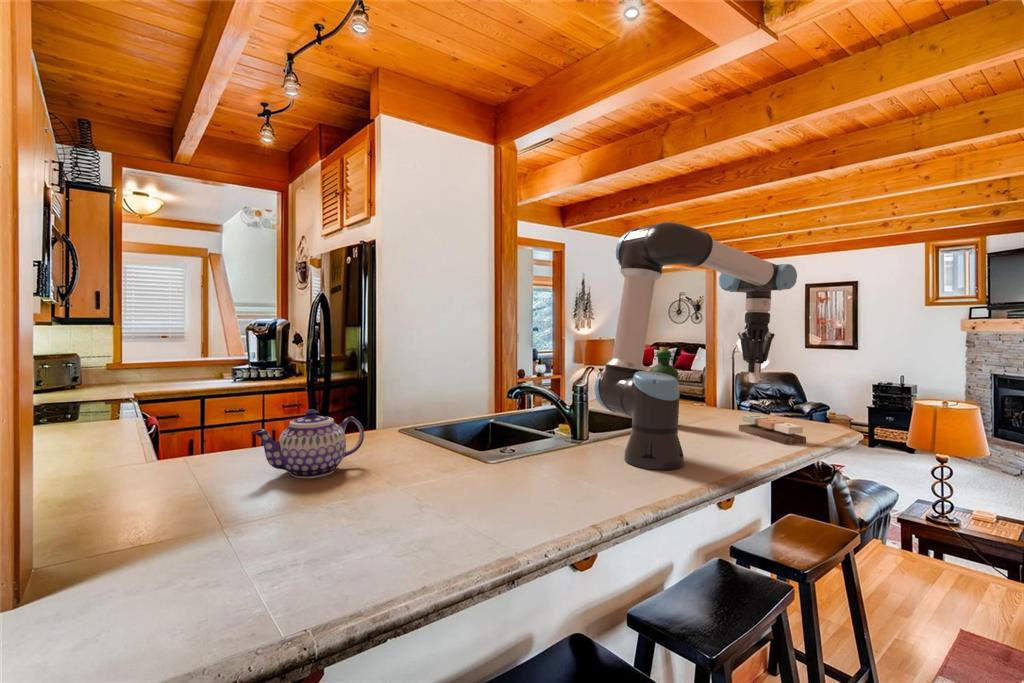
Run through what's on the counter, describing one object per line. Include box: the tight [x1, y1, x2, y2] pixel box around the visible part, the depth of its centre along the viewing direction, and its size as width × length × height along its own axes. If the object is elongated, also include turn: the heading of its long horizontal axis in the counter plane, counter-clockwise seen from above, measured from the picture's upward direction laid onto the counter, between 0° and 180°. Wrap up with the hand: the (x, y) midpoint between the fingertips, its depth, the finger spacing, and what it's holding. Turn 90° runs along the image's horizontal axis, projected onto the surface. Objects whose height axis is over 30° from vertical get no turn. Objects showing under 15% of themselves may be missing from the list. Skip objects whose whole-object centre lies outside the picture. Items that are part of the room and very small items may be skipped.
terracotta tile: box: [758, 418, 786, 432], centre depth 164 cm, size 6×6×4 cm
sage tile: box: [742, 414, 769, 427], centre depth 171 cm, size 6×6×4 cm
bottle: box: [649, 346, 680, 381], centre depth 180 cm, size 11×11×28 cm
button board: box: [738, 423, 807, 445], centre depth 165 cm, size 8×20×2 cm, turn 17°
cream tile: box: [774, 422, 804, 437], centre depth 158 cm, size 6×6×4 cm
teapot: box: [253, 408, 365, 479], centre depth 118 cm, size 25×15×15 cm, turn 125°
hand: (753, 382), depth 167 cm, fingers closed
